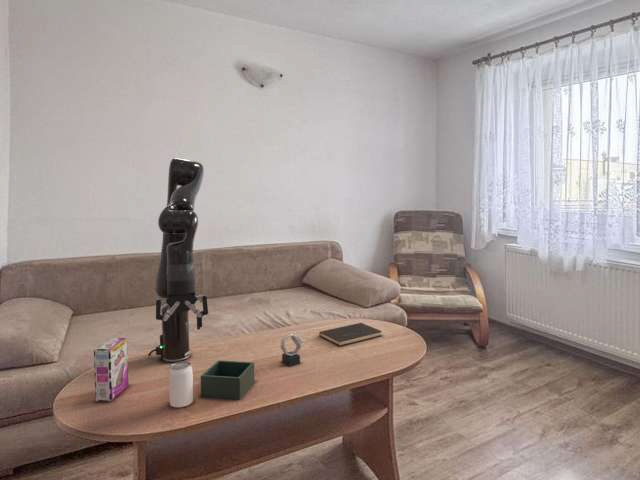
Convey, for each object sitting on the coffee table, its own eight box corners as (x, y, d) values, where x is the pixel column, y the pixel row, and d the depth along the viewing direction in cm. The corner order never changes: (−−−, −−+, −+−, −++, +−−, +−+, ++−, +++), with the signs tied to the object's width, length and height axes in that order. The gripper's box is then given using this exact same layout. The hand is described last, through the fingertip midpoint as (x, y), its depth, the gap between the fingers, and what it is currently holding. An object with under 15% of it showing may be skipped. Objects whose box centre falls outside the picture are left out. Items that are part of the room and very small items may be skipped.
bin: (200, 396, 137) (200, 375, 136) (218, 379, 149) (218, 360, 148) (240, 399, 136) (239, 378, 135) (254, 381, 148) (254, 362, 147)
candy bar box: (112, 401, 132) (109, 349, 130) (95, 402, 132) (92, 349, 130) (129, 385, 143) (127, 337, 141) (113, 385, 143) (111, 337, 141)
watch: (304, 362, 166) (304, 334, 164) (285, 367, 160) (285, 338, 159) (296, 357, 170) (296, 330, 168) (277, 362, 164) (277, 334, 163)
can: (184, 409, 129) (183, 370, 127) (165, 406, 130) (163, 368, 128) (197, 399, 135) (196, 362, 133) (178, 396, 136) (177, 359, 135)
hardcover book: (381, 336, 197) (381, 331, 197) (339, 346, 183) (339, 341, 183) (360, 326, 210) (360, 322, 209) (319, 336, 195) (319, 331, 195)
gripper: (205, 273, 136) (207, 324, 138) (154, 277, 130) (156, 330, 132) (207, 278, 129) (209, 331, 131) (153, 281, 123) (156, 337, 125)
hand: (183, 330), depth 131 cm, fingers open, 8 cm apart
